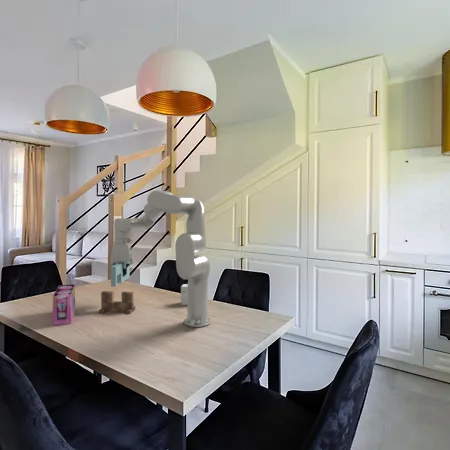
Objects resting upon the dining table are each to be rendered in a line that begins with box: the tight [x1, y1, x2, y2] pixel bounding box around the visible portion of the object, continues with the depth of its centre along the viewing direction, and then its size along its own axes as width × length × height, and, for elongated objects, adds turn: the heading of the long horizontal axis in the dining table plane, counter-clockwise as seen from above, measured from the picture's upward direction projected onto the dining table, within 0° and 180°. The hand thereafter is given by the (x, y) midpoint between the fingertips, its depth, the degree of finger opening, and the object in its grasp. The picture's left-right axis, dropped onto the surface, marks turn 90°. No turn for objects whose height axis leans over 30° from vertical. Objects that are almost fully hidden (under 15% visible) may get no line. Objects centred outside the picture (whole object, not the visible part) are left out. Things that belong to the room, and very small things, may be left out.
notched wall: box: [98, 290, 136, 315], centre depth 167 cm, size 16×8×10 cm, turn 89°
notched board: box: [110, 262, 131, 288], centre depth 172 cm, size 22×2×10 cm, turn 179°
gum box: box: [52, 283, 76, 326], centre depth 157 cm, size 24×8×14 cm, turn 21°
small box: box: [180, 283, 188, 306], centre depth 181 cm, size 8×6×10 cm
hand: (121, 275), depth 174 cm, fingers closed on notched board, 2 cm apart
